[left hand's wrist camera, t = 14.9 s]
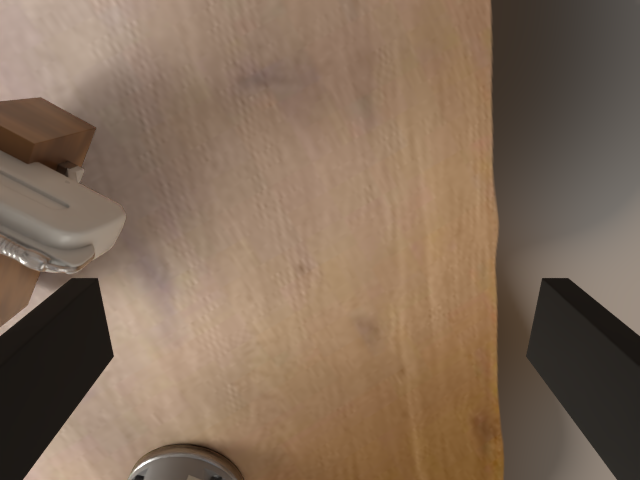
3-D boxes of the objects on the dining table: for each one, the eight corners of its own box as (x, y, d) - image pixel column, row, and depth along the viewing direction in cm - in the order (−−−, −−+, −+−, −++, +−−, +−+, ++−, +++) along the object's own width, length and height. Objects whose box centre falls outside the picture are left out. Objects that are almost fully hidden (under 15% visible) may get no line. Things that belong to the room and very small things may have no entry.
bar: (27, 305, 45) (-39, 358, 37) (-22, 283, 44) (-100, 332, 36) (96, 127, 39) (34, 143, 30) (40, 96, 38) (-40, 105, 29)
